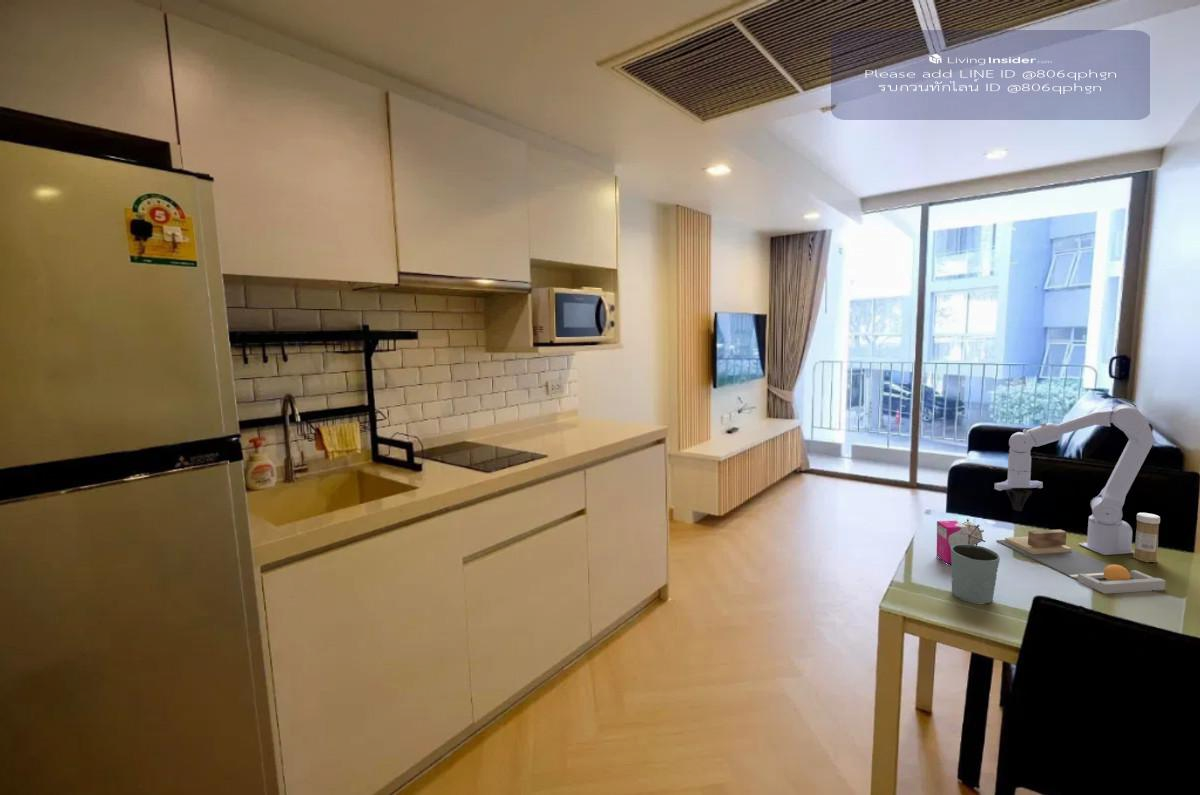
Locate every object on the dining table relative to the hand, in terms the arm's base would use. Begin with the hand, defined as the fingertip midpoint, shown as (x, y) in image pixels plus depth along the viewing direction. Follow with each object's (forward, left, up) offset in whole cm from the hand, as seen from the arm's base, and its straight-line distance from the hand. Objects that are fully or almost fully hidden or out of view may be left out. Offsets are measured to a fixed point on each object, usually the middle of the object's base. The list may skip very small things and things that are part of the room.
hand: (1017, 510), depth 167 cm
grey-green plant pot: (+42, +35, -9) cm, 55 cm away
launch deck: (+2, +21, -8) cm, 23 cm away
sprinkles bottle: (-19, +22, -9) cm, 30 cm away
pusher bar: (+2, +13, -6) cm, 15 cm away
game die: (+21, +6, -9) cm, 23 cm away
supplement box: (+33, +15, -9) cm, 37 cm away
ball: (+2, +34, -6) cm, 34 cm away
